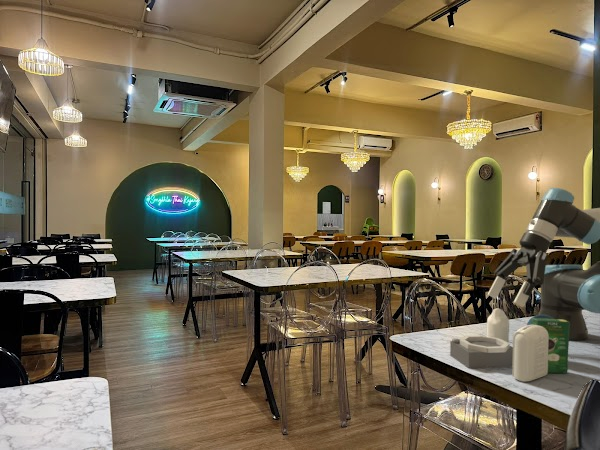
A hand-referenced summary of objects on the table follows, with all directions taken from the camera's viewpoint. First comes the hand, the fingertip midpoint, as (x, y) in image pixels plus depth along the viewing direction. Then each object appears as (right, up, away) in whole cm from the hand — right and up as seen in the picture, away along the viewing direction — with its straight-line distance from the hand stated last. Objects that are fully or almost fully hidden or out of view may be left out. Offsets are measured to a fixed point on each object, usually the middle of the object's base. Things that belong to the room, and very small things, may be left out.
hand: (504, 300), depth 123 cm
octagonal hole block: (-11, -14, -11) cm, 21 cm away
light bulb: (+6, -14, -9) cm, 18 cm away
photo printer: (-4, -14, -22) cm, 27 cm away
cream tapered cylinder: (-2, -14, 0) cm, 14 cm away
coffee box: (+2, -15, -19) cm, 24 cm away
